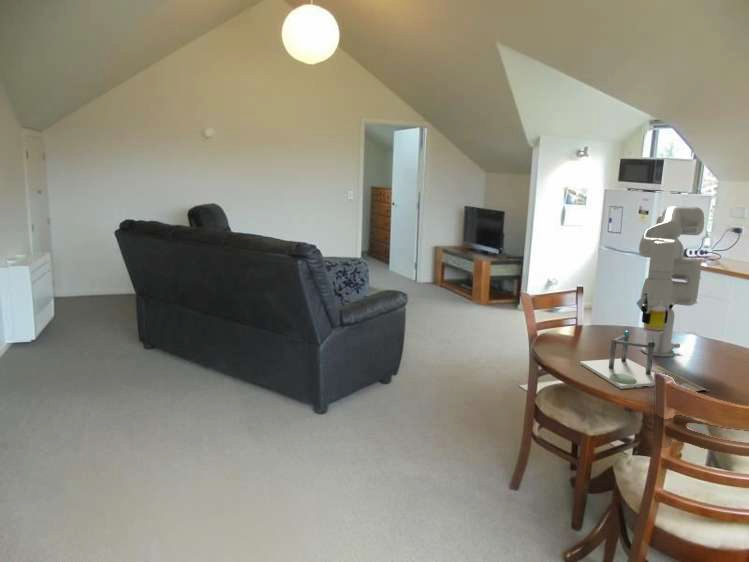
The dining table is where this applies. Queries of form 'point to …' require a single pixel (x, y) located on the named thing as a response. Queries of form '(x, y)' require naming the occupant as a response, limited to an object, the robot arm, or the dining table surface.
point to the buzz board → (621, 373)
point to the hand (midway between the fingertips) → (654, 322)
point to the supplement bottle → (656, 320)
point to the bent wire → (625, 347)
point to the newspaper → (678, 379)
